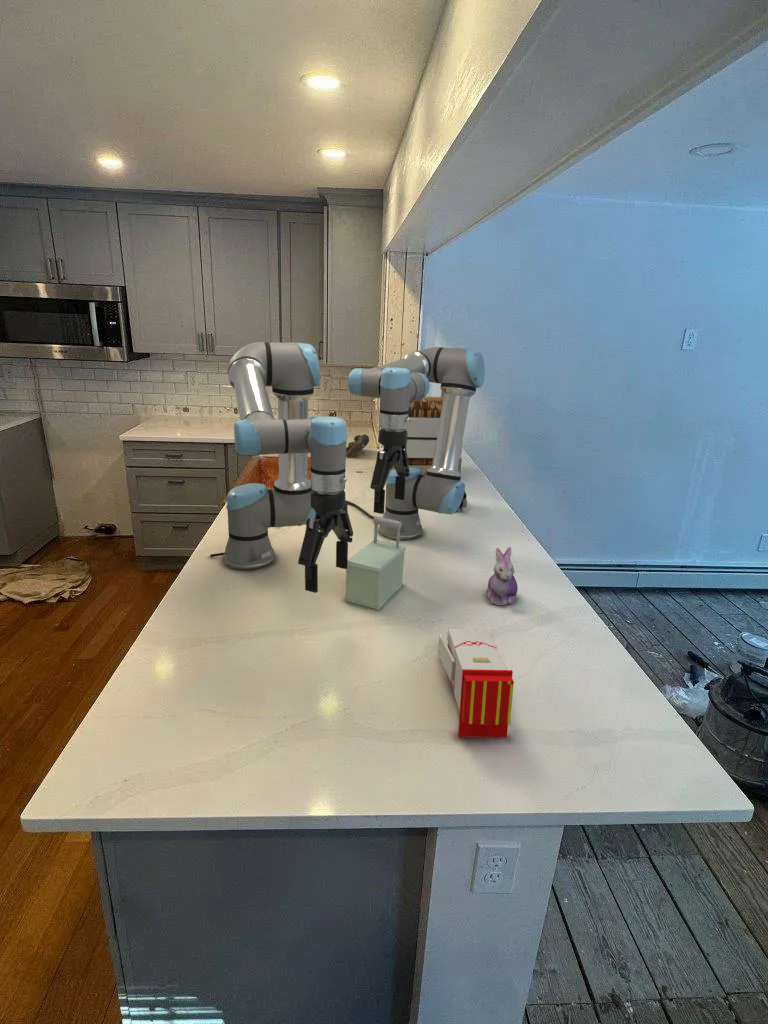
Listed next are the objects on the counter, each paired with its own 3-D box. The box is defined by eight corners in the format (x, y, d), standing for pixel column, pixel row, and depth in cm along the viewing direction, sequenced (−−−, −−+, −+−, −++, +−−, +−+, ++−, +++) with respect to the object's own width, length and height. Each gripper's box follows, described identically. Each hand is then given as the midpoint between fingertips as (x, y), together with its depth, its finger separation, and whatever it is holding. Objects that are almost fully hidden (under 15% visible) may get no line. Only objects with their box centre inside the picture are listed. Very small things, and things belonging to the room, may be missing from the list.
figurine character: (467, 516, 223) (461, 500, 237) (469, 499, 220) (463, 483, 233) (450, 516, 223) (446, 499, 236) (452, 498, 220) (447, 483, 233)
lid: (374, 542, 164) (376, 513, 161) (405, 549, 160) (407, 519, 157) (346, 564, 149) (347, 532, 146) (379, 572, 145) (381, 539, 142)
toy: (488, 613, 130) (523, 677, 101) (484, 667, 133) (517, 744, 104) (435, 612, 130) (455, 676, 101) (432, 666, 133) (451, 743, 103)
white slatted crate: (382, 463, 289) (386, 382, 275) (445, 464, 293) (451, 384, 279) (390, 482, 257) (394, 392, 243) (460, 483, 261) (468, 394, 247)
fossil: (345, 440, 315) (366, 425, 310) (356, 453, 318) (377, 439, 313) (338, 454, 296) (361, 438, 291) (350, 468, 298) (372, 452, 293)
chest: (372, 577, 167) (373, 544, 163) (402, 585, 163) (404, 551, 159) (345, 600, 153) (346, 564, 149) (377, 609, 149) (379, 573, 145)
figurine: (499, 610, 151) (506, 558, 146) (476, 593, 160) (482, 544, 155) (527, 603, 156) (534, 553, 151) (503, 587, 164) (509, 539, 159)
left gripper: (312, 509, 110) (312, 606, 117) (369, 478, 132) (366, 562, 139) (280, 502, 113) (282, 597, 120) (340, 474, 134) (339, 555, 142)
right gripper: (386, 439, 136) (382, 522, 143) (424, 423, 157) (419, 495, 165) (358, 435, 139) (356, 516, 146) (399, 420, 160) (395, 491, 167)
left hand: (327, 578), depth 129 cm, fingers open, 13 cm apart
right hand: (389, 505), depth 155 cm, fingers open, 13 cm apart
